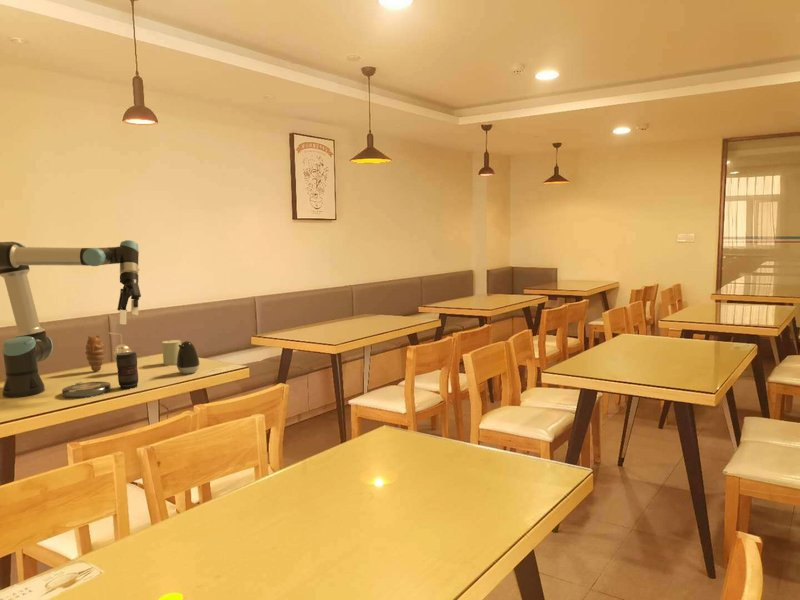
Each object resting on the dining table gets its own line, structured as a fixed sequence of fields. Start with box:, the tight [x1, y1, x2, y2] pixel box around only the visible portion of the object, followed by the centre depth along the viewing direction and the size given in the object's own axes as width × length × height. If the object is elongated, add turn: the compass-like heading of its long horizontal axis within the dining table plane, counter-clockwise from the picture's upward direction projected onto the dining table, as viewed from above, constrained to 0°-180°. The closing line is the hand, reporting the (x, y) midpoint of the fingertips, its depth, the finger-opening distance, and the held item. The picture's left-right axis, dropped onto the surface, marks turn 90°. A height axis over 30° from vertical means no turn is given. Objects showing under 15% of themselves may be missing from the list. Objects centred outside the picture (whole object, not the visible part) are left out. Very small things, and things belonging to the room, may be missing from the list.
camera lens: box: [115, 351, 139, 390], centre depth 255 cm, size 8×8×15 cm
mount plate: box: [61, 381, 112, 399], centre depth 249 cm, size 18×18×3 cm
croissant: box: [85, 334, 106, 372], centre depth 289 cm, size 9×8×18 cm
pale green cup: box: [161, 339, 182, 366], centre depth 303 cm, size 9×9×12 cm
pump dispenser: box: [176, 340, 200, 375], centre depth 280 cm, size 10×10×15 cm
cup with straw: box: [108, 331, 133, 364], centre depth 285 cm, size 8×9×20 cm
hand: (128, 319), depth 256 cm, fingers open, 13 cm apart
